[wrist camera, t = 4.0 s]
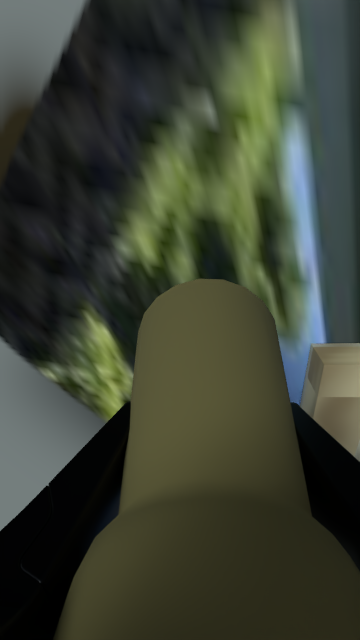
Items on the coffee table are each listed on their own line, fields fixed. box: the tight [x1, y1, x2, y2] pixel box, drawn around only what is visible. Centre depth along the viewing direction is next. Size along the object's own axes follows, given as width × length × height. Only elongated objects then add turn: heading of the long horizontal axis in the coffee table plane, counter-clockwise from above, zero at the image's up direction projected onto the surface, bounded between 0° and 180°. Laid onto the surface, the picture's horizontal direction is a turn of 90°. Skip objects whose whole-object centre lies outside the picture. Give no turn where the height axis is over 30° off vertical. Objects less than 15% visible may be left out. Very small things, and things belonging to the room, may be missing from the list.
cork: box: [53, 279, 360, 640], centre depth 8 cm, size 6×6×11 cm
